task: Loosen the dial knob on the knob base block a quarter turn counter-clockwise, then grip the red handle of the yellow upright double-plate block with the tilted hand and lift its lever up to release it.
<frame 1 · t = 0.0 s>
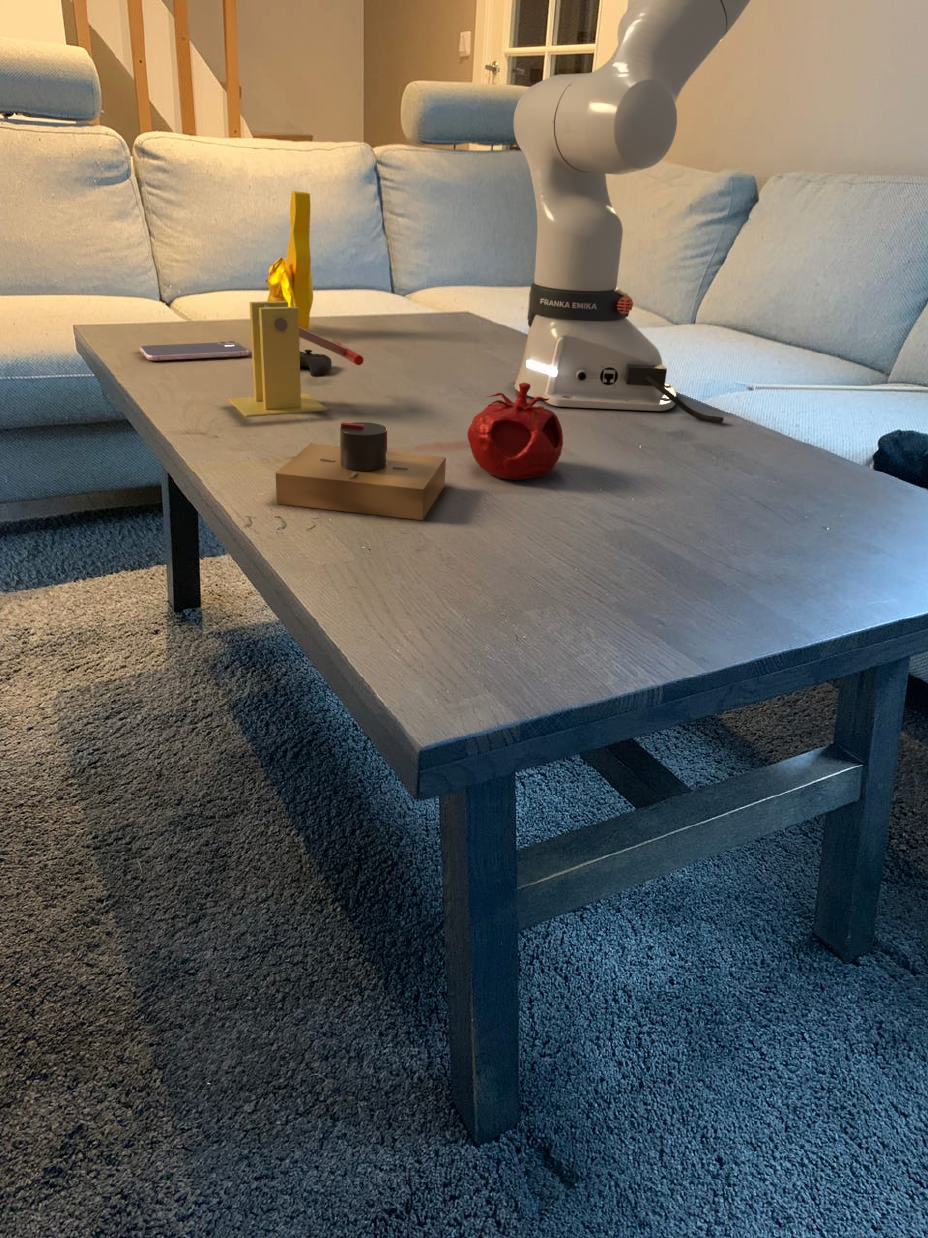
clamp lever: (308, 336, 116), point 9 cm above the table, hinge at -25.0°
yellow upright double-plate block: (277, 413, 118), on the table
red hollowed tomato: (513, 472, 102), on the table
gaming controller: (301, 376, 136), on the table
mobile phone: (194, 354, 145), on the table
knob base block: (363, 494, 93), on the table
figure statuette: (291, 333, 164), on the table
dial knob: (363, 444, 91), point 5 cm above the table, hinge at 0.0°
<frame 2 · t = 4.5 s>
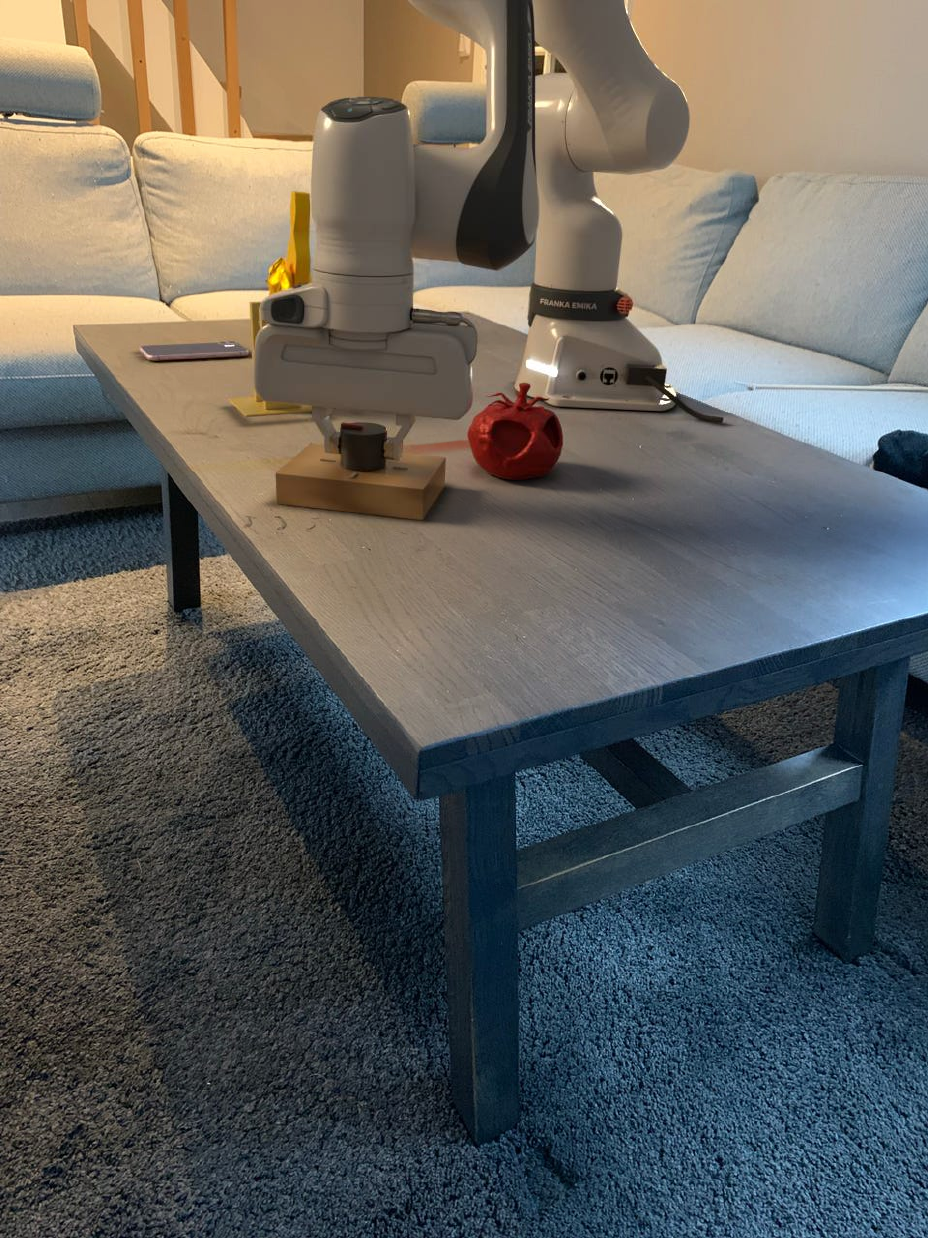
hand: (363, 455, 92), 4 cm above the table, tool pointing down, fingers closed on dial knob, 4 cm apart
dial knob: (363, 444, 91), point 5 cm above the table, hinge at 0.0°, touching gripper
everything else where it was.
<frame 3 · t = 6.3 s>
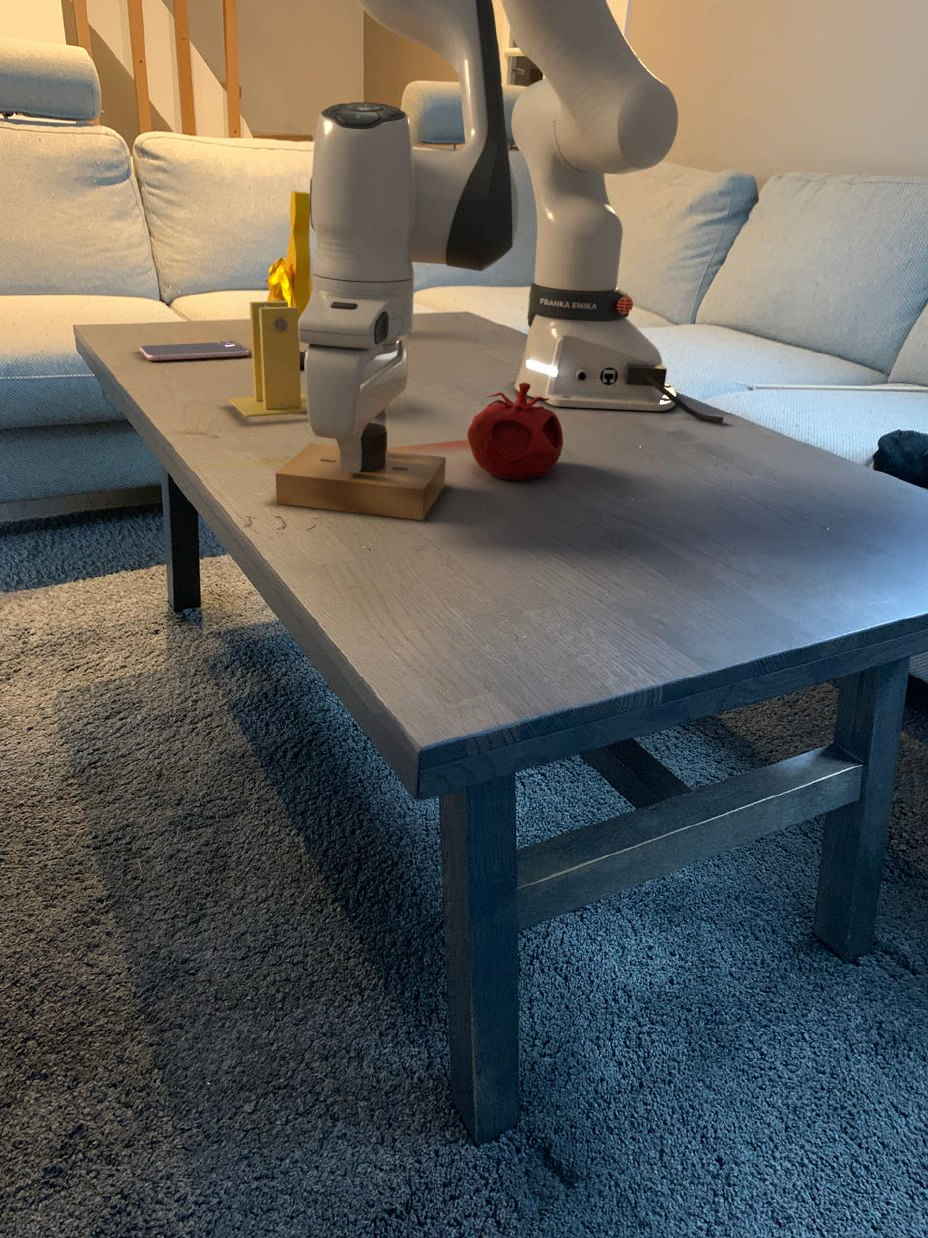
hand: (363, 459, 92), 3 cm above the table, tool pointing down, fingers open, 5 cm apart
dial knob: (363, 444, 91), point 5 cm above the table, hinge at 93.0°
everything else where it was.
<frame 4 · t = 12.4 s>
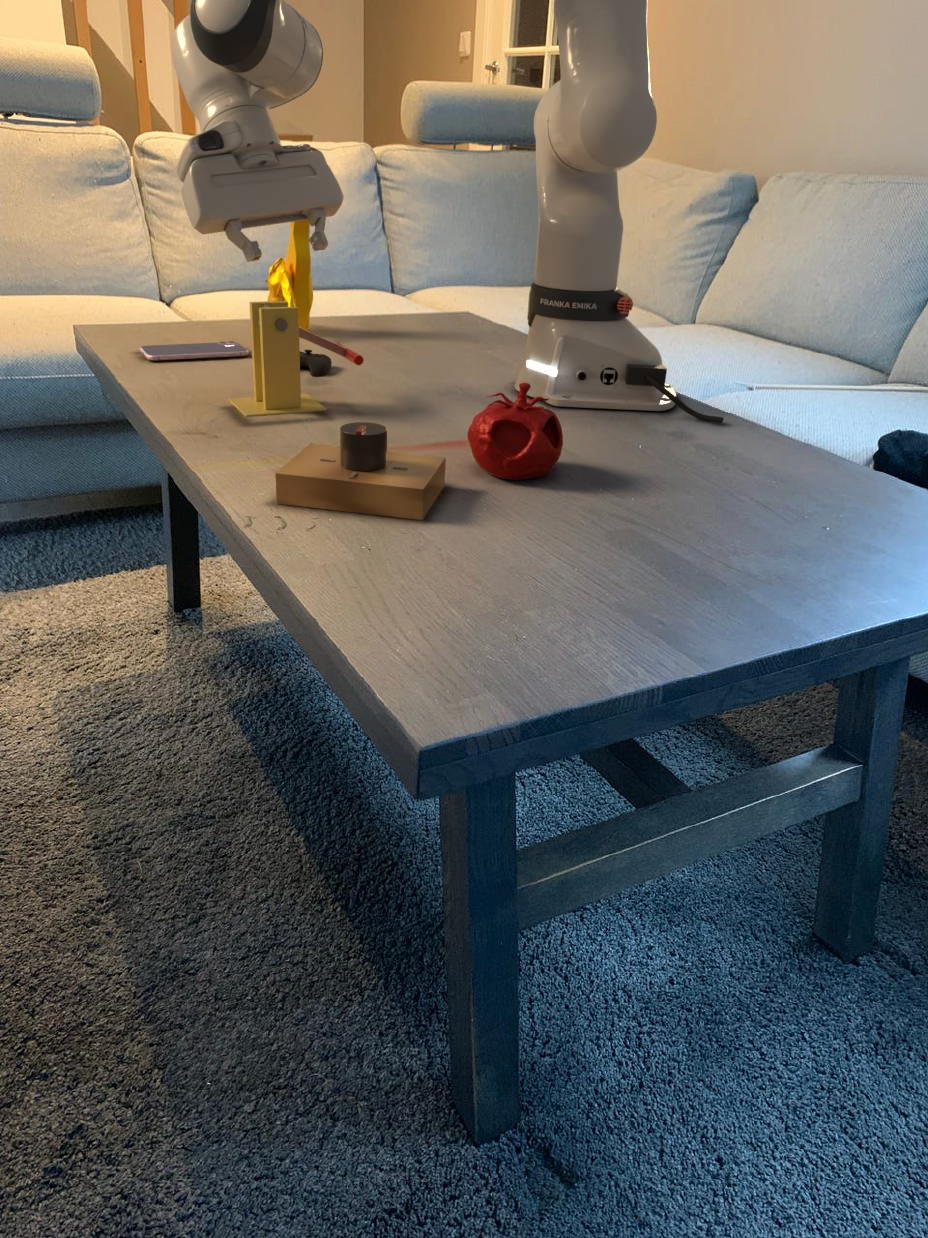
hand: (289, 253, 120), 17 cm above the table, tool tilted 35°, fingers open, 8 cm apart
nothing on the table moved.
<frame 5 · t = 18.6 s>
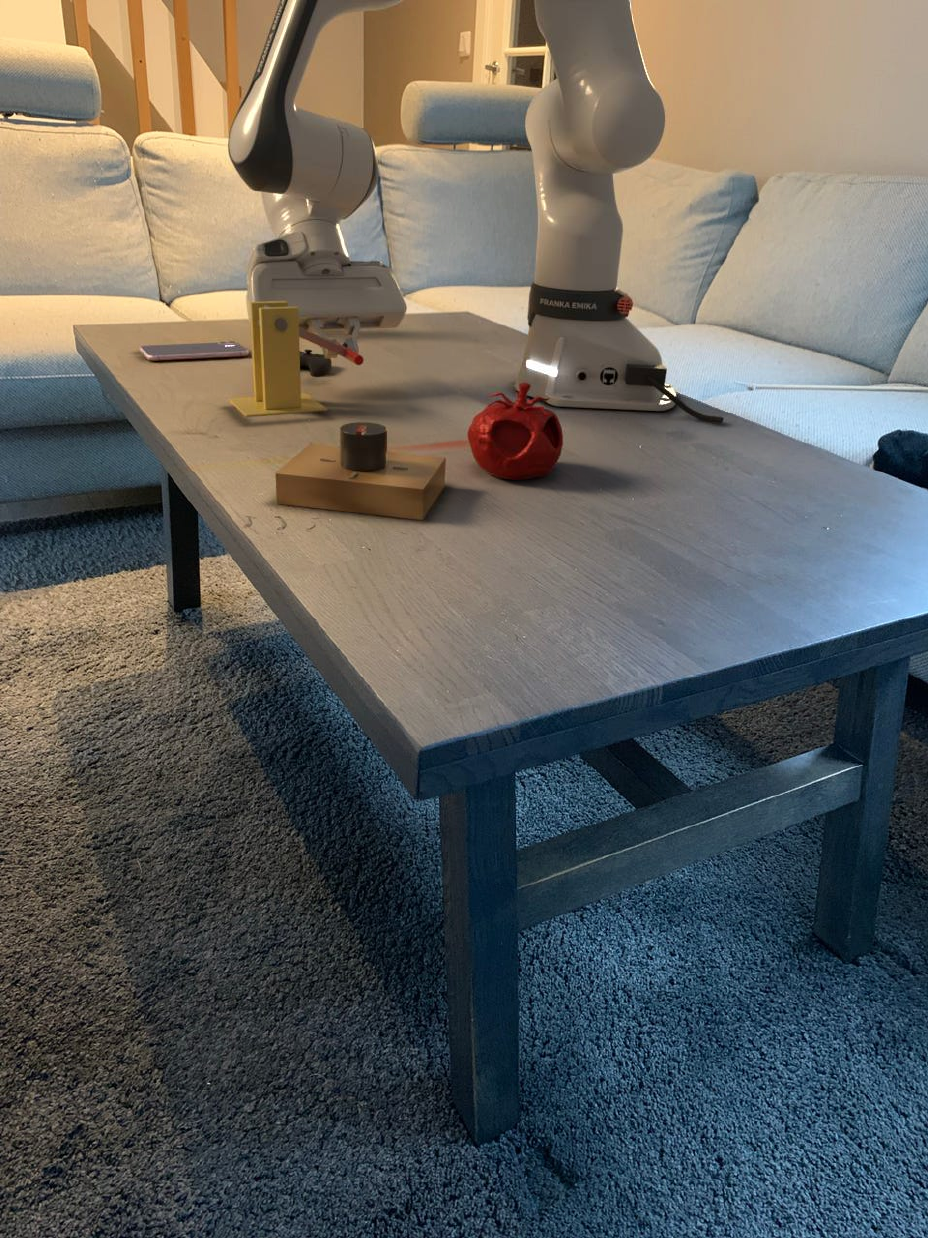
hand: (342, 355, 120), 6 cm above the table, tool tilted 45°, fingers closed on clamp lever
clamp lever: (308, 336, 116), point 9 cm above the table, hinge at -25.0°, touching gripper
everything else where it was.
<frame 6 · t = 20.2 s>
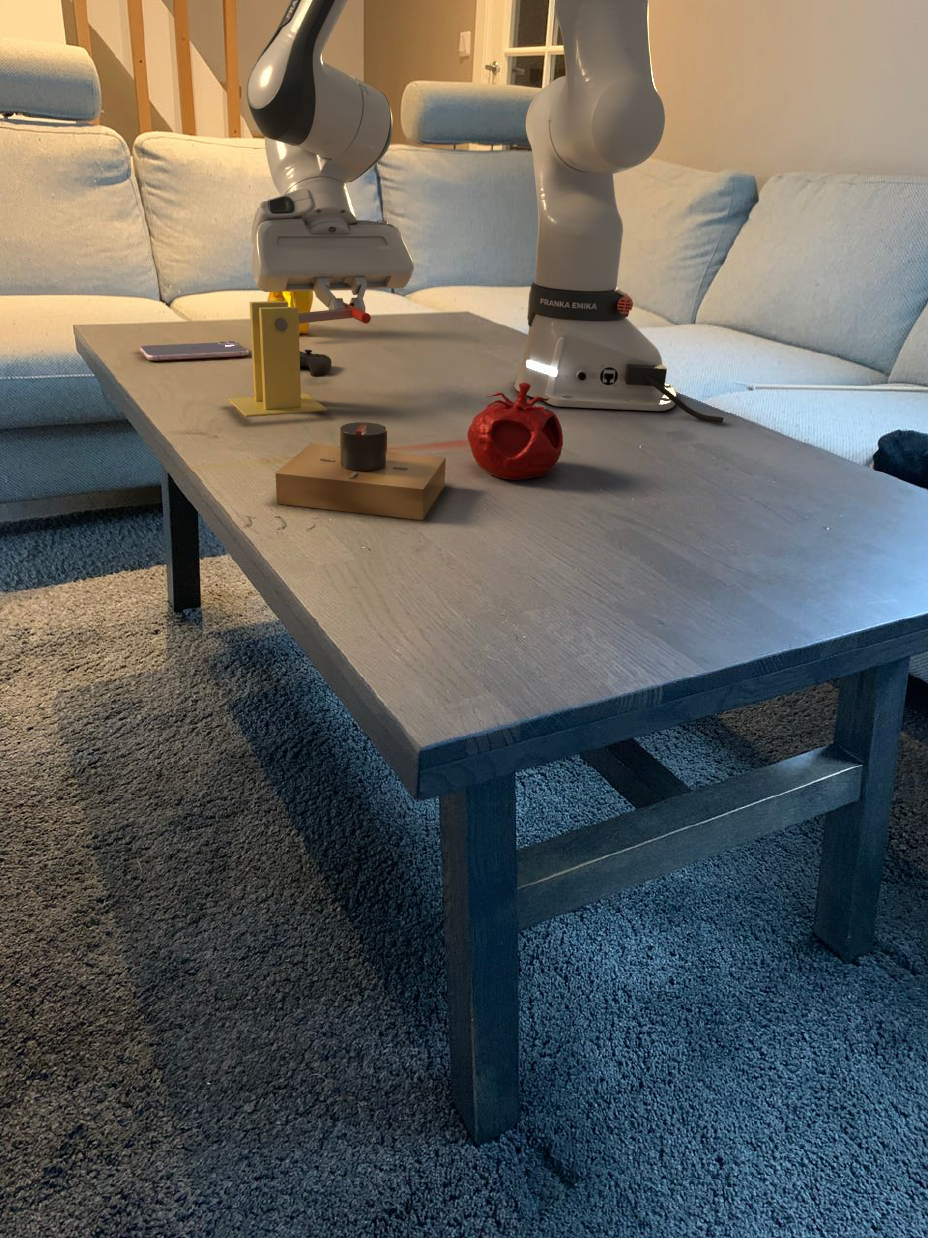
hand: (348, 314, 119), 11 cm above the table, tool tilted 45°, fingers closed on clamp lever
clamp lever: (311, 316, 115), point 11 cm above the table, hinge at 3.6°, touching gripper
everything else where it was.
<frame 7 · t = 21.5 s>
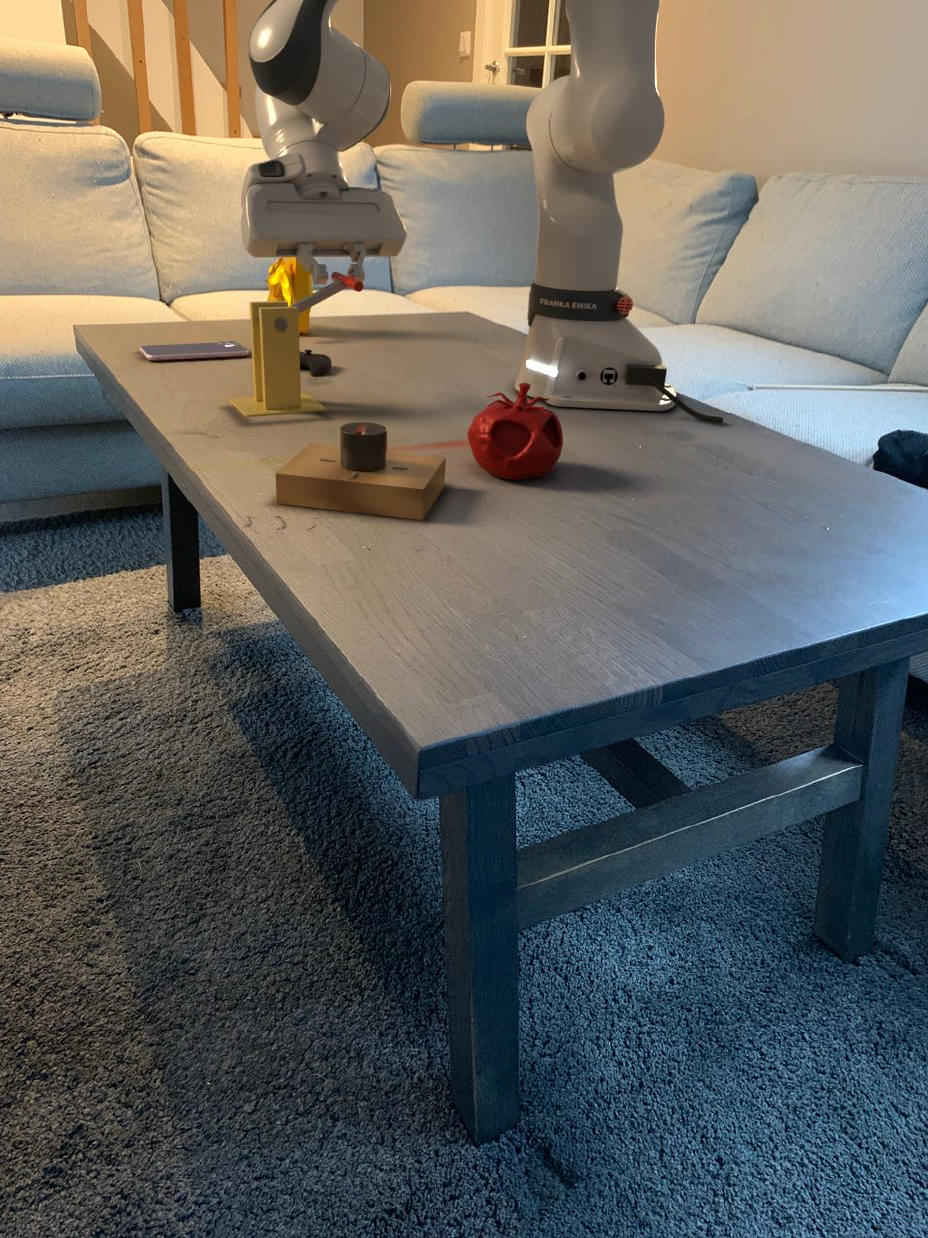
hand: (340, 281, 116), 15 cm above the table, tool tilted 45°, fingers open, 3 cm apart
clamp lever: (307, 302, 114), point 13 cm above the table, hinge at 25.2°
everything else where it was.
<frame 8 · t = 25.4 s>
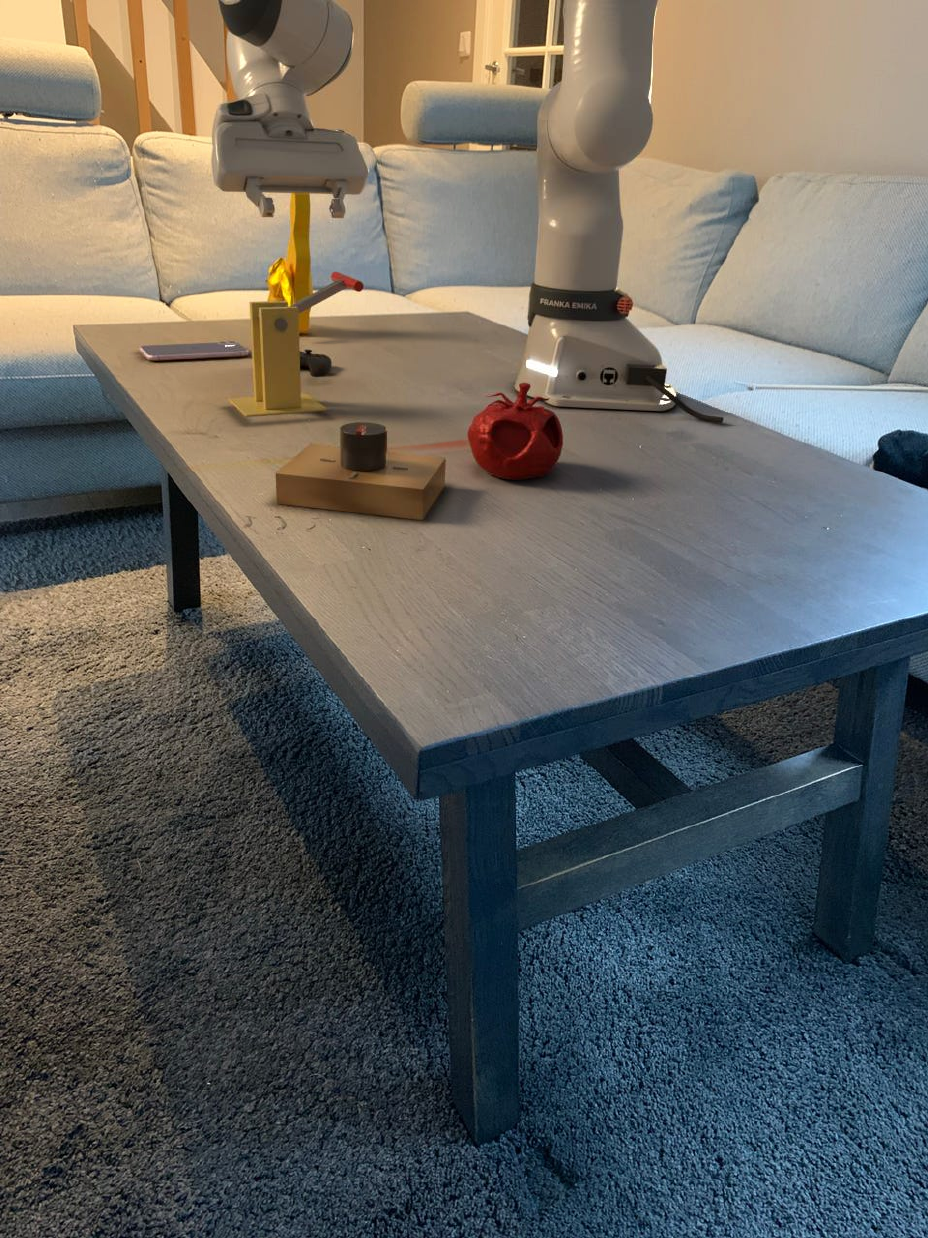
hand: (304, 214, 124), 21 cm above the table, tool tilted 45°, fingers open, 8 cm apart
nothing on the table moved.
at the end: dial knob at +93° (first picture: +0°); clamp lever at +25° (first picture: -25°) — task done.
